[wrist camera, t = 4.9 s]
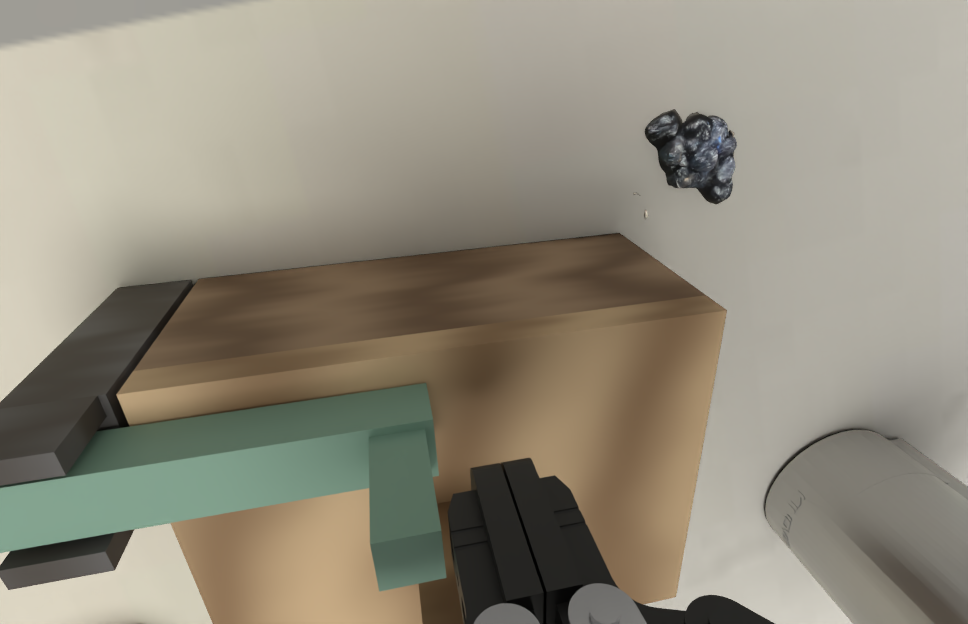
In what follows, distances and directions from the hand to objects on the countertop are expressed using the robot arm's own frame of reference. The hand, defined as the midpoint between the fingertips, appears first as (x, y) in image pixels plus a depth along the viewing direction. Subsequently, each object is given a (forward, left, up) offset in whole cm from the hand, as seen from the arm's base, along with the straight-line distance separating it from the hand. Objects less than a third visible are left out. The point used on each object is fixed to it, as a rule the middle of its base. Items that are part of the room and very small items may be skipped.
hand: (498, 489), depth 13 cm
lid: (0, +5, -5) cm, 7 cm away
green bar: (+7, 0, -4) cm, 8 cm away
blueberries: (-11, -5, -13) cm, 18 cm away
